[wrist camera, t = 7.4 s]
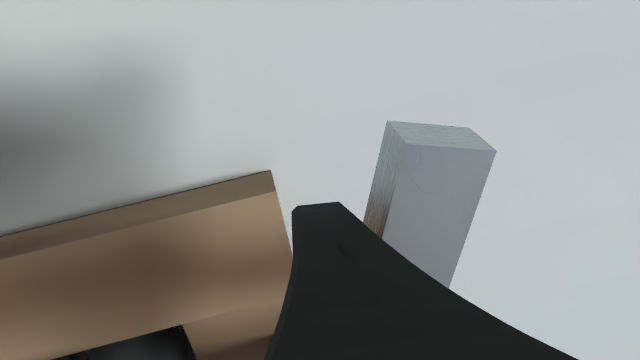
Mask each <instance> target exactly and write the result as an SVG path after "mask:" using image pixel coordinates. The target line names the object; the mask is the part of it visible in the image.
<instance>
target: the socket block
mask: <svg viewBox="0 0 640 360" xmlns="http://www.w3.org/2000/svg"><path fill="white" fill-rule="evenodd" d="M292 261H293V256H292V252H291V248H290V244H289V240H288V236H287V232H286V228H285V224H284V220H283V216H282V212H281V208H280V204H279V200H278V197H277V193H276V189H275V185H274V181H273V177H272V173H271V170H270V171H266V172H262V173H258V174H254V175H250V176H246V177H242V178H238V179H234V180H230V181H226V182H222V183H218V184H214V185H210V186H205V187H201V188H197V189H193V190H189V191H185V192H181V193H177V194H173V195H169V196H165V197H161V198H157V199H153V200H149V201H145V202H140V203H136V204H132V205H128V206H124V207H120V208H116V209H112V210H108V211H104V212H100V213H96V214H92V215H88V216H84V217H80V218H75V219H71V220H67V221H63V222H59V223H55V224H51V225H47V226H43V227H39V228H35V229H31V230H27V231H23V232H19V233H15V234H10V235H6V236H2V237H0V360H72V358H71V357H70V354H74V353H77V352H81V351H85V350H88V349H92V348H96V347H100V346H103V345H107V344H111V343H115V342H118V341H122V340H126V339H129V338H133V337H137V336H141V335H144V334H148V333H152V332H156V331H159V330H163V329H167V328H170V327H174V326H178V325H183V328H184V330H185V332H186V335H187V337H188V339H189V342H190V344H191V346H192V348H193V351H194V353H195V355H196V358H197V360H264V358H265V356H266V353H267V351H268V348H269V345H270V342H271V340H272V337H273V334H274V331H275V328H276V325H277V322H278V319H279V316H280V313H281V309H282V305H283V302H284V298H285V294H286V290H287V286H288V282H289V278H290V273H291V267H292Z"/></svg>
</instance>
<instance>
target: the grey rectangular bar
mask: <svg viewBox="0 0 640 360" xmlns="http://www.w3.org/2000/svg"><path fill="white" fill-rule="evenodd" d="M495 154H496V150H495V149H494V148H493V147H491V146H490V145H489V144H488V143H487V142H485V141H484V140H483V139H482V138H481V137H480V136H478V135H477V134H476V133H475V132H474V131H472V130H471V129H470V128H465V127H453V126H442V125H431V124H420V123H409V122H397V121H387V123H386V127H385V132H384V136H383V140H382V144H381V149H380V153H379V157H378V161H377V166H376V170H375V174H374V178H373V182H372V187H371V191H370V195H369V199H368V204H367V208H366V212H365V216H364V221H363V223H364V224H365V225H366V226H367V227H368V228H370V229H371V230H372V231H373V232H374V233H375V234H377V235H378V236H379V237H380V238H381V239H383V240H384V241H385V242H386V243H387V244H389V245H390V246H391V247H392V248H394V249H395V250H396V251H397V252H399V253H400V254H401V255H402V256H404V257H405V258H406V259H408V260H409V261H410V262H412V263H413V264H414V265H416V266H417V267H418V268H420V269H421V270H422V271H424V272H425V273H427V274H428V275H430V276H431V277H432V278H434V279H435V280H437V281H438V282H440V283H441V284H442V285H444V286H445V287H447V288H448V289H449V286H450V283H451V280H452V277H453V274H454V271H455V268H456V266H457V263H458V260H459V257H460V254H461V251H462V248H463V246H464V243H465V240H466V237H467V234H468V231H469V228H470V226H471V223H472V220H473V217H474V214H475V211H476V208H477V205H478V203H479V200H480V197H481V194H482V191H483V188H484V185H485V183H486V180H487V177H488V174H489V171H490V168H491V165H492V163H493V160H494V157H495Z"/></svg>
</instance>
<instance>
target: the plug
mask: <svg viewBox="0 0 640 360" xmlns="http://www.w3.org/2000/svg"><path fill="white" fill-rule="evenodd" d="M88 360H192V347H191V344H190V342H189V340H188V339H187V337H186V336H185V335H184V334H183V333H182V332H181V331H179V330H178V329H176V328H175V327H170V328H167V329H163V330H159V331H156V332H152V333H148V334H144V335H141V336H137V337H133V338H129V339H126V340H122V341H118V342H115V343H111V344H107V345H103V346H100V347H96V348H92V349H91V352H90V356H89V359H88Z"/></svg>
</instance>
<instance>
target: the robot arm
mask: <svg viewBox="0 0 640 360" xmlns="http://www.w3.org/2000/svg"><path fill="white" fill-rule="evenodd" d="M292 241H293V261H292V267H291V273H290V278H289V282H288V286H287V290H286V294H285V298H284V302H283V305H282V309H281V313H280V316H279V319H278V322H277V325H276V328H275V331H274V334H273V337H272V340H271V342H270V345H269V348H268V351H267V353H266V356H265V358H264V360H578V359H576V358H574V357H572V356H570V355H567V354H565V353H563V352H561V351H559V350H557V349H555V348H553V347H551V346H549V345H547V344H545V343H543V342H541V341H539V340H537V339H535V338H533V337H531V336H529V335H527V334H525V333H523V332H521V331H519V330H517V329H516V328H514V327H512V326H510V325H508V324H506V323H504V322H503V321H501V320H499V319H497V318H496V317H494V316H492V315H491V314H489V313H487V312H486V311H484V310H482V309H480V308H479V307H477V306H475V305H474V304H472V303H470V302H468V301H467V300H465V299H464V298H462V297H461V296H459V295H457V294H456V293H454V292H453V291H451V290H450V289H448V288H447V287H445V286H444V285H442V284H441V283H440V282H438V281H437V280H435V279H434V278H432V277H431V276H430V275H428V274H427V273H425V272H424V271H422V270H421V269H420V268H418V267H417V266H416V265H414V264H413V263H412V262H410V261H409V260H408V259H406V258H405V257H404V256H402V255H401V254H400V253H399V252H397V251H396V250H395V249H394V248H392V247H391V246H390V245H389V244H387V243H386V242H385V241H384V240H383V239H381V238H380V237H379V236H378V235H377V234H375V233H374V232H373V231H372V230H371V229H370V228H368V227H367V226H366V225H365V224H364V223H363V222H362V221H360V220H359V219H358V218H357V217H356V216H355V215H354V214H352V213H351V212H350V211H349V210H348V209H347V208H346V207H344V206H343V205H342V204H341V203H340V202H331V203H321V204H311V205H301V206H297V207H296V208H295V209H294V210H293V211H292Z"/></svg>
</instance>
